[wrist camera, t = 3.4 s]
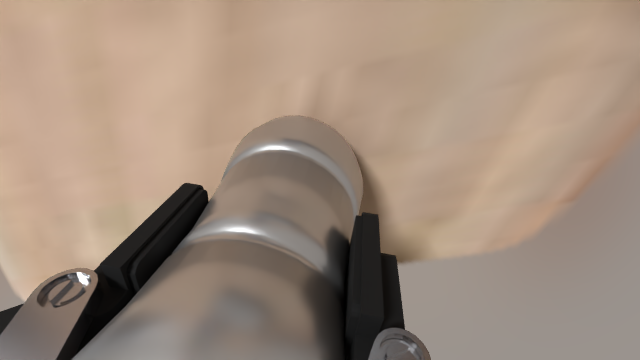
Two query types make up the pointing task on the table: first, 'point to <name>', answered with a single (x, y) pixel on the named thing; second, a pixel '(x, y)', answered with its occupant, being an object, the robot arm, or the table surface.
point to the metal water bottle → (254, 259)
